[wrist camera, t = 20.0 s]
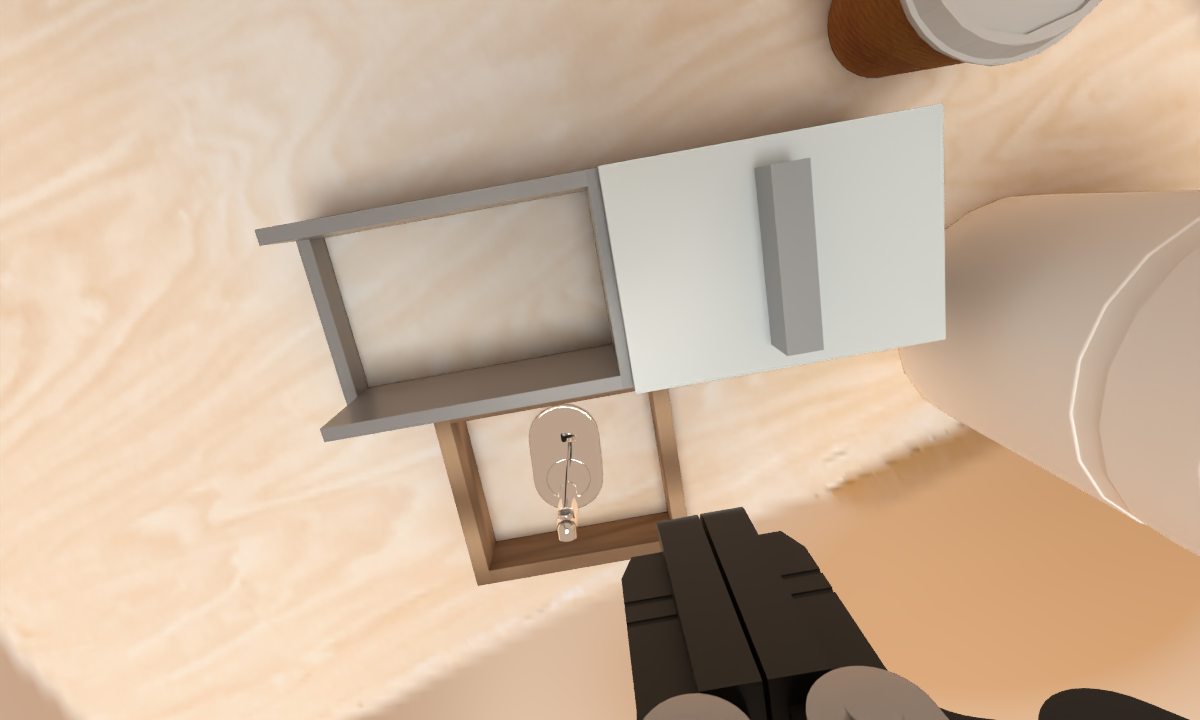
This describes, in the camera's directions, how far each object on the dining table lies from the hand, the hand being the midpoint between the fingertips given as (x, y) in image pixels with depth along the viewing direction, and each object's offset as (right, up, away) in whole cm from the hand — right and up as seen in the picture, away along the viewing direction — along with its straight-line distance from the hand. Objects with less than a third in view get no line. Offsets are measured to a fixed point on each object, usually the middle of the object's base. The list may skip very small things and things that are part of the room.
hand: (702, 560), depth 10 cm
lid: (+7, +9, +20) cm, 23 cm away
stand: (-4, -3, +31) cm, 32 cm away
